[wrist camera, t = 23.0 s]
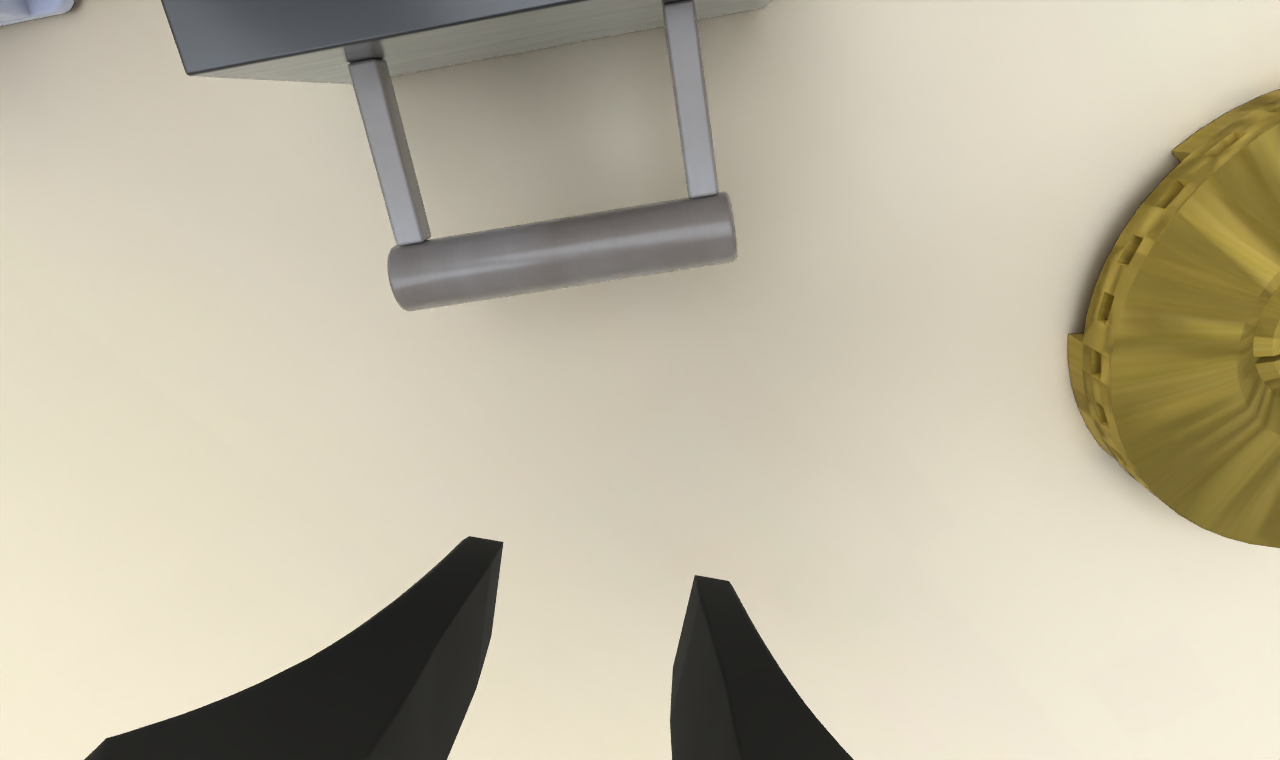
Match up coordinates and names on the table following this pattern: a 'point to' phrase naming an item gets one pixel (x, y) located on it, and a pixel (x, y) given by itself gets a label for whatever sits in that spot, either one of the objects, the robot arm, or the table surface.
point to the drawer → (460, 33)
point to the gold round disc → (1196, 332)
